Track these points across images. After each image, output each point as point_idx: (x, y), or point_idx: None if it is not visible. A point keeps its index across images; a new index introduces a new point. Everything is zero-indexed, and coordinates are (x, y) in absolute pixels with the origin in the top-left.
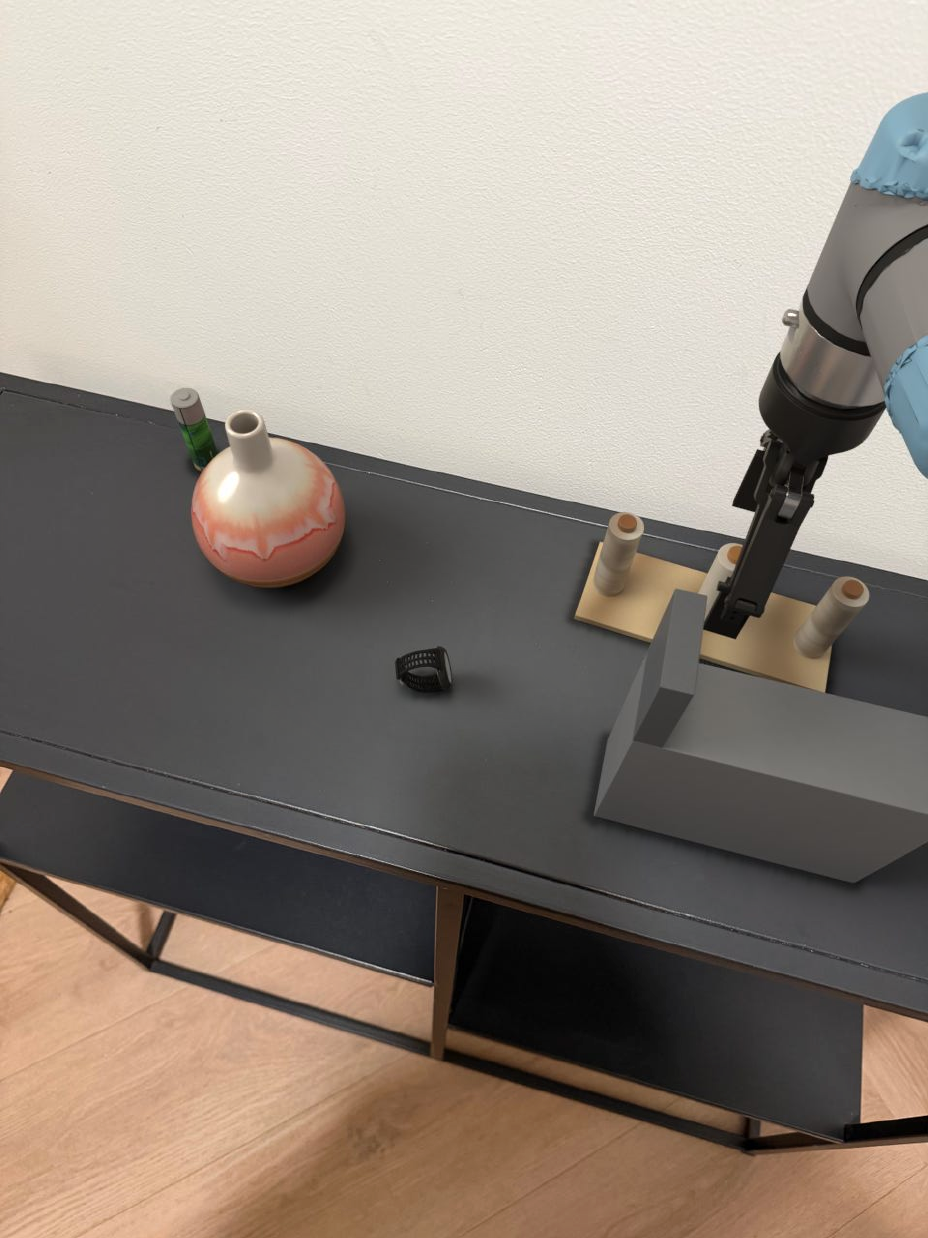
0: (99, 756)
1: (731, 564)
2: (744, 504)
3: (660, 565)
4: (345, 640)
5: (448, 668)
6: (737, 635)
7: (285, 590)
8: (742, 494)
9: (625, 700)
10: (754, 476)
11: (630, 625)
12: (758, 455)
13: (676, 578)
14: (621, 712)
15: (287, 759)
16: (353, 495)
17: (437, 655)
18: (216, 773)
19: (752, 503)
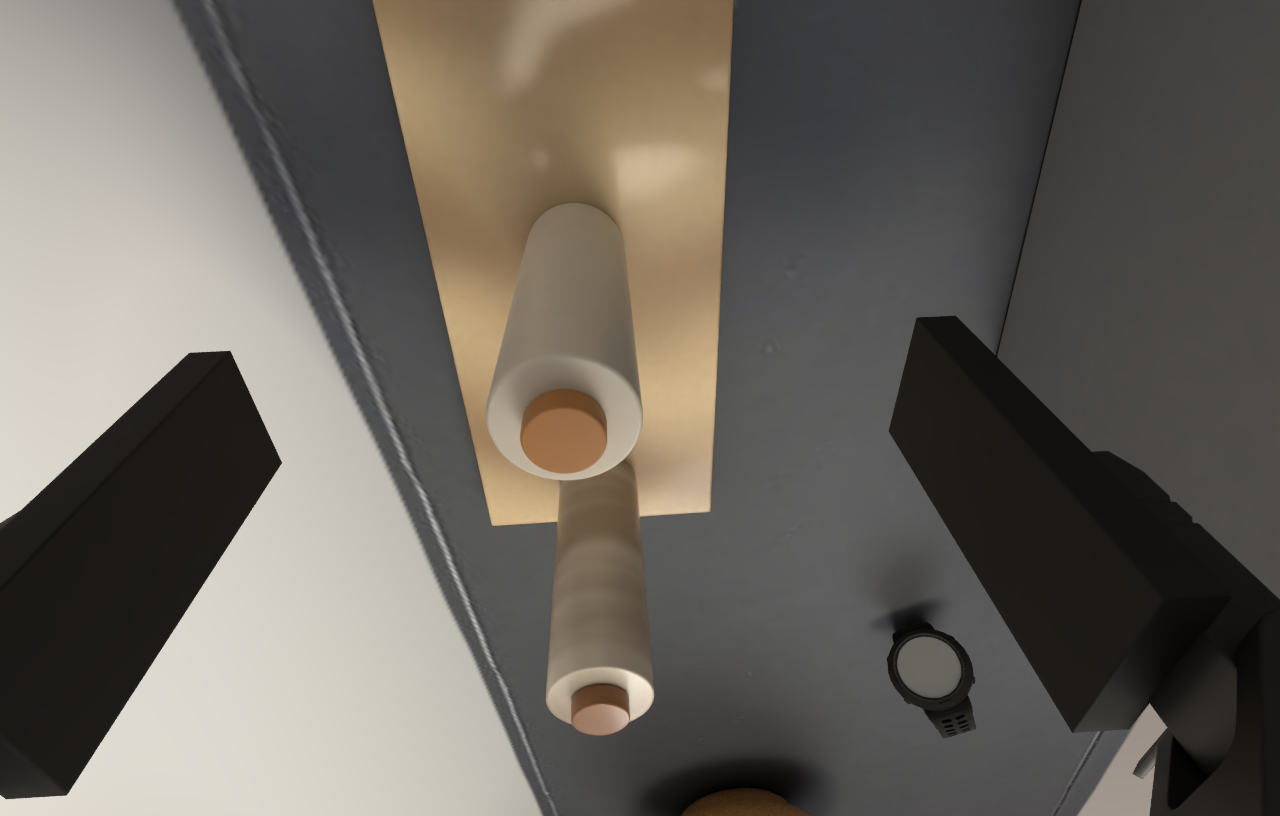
0: (1054, 812)
1: (611, 429)
2: (251, 445)
3: (483, 399)
4: (855, 723)
5: (922, 658)
6: (970, 333)
7: (792, 786)
8: (235, 507)
9: None
10: (150, 608)
11: (695, 412)
12: (52, 788)
13: None
14: None
15: (1054, 707)
16: (599, 791)
17: (946, 715)
18: (1075, 745)
19: (229, 433)
